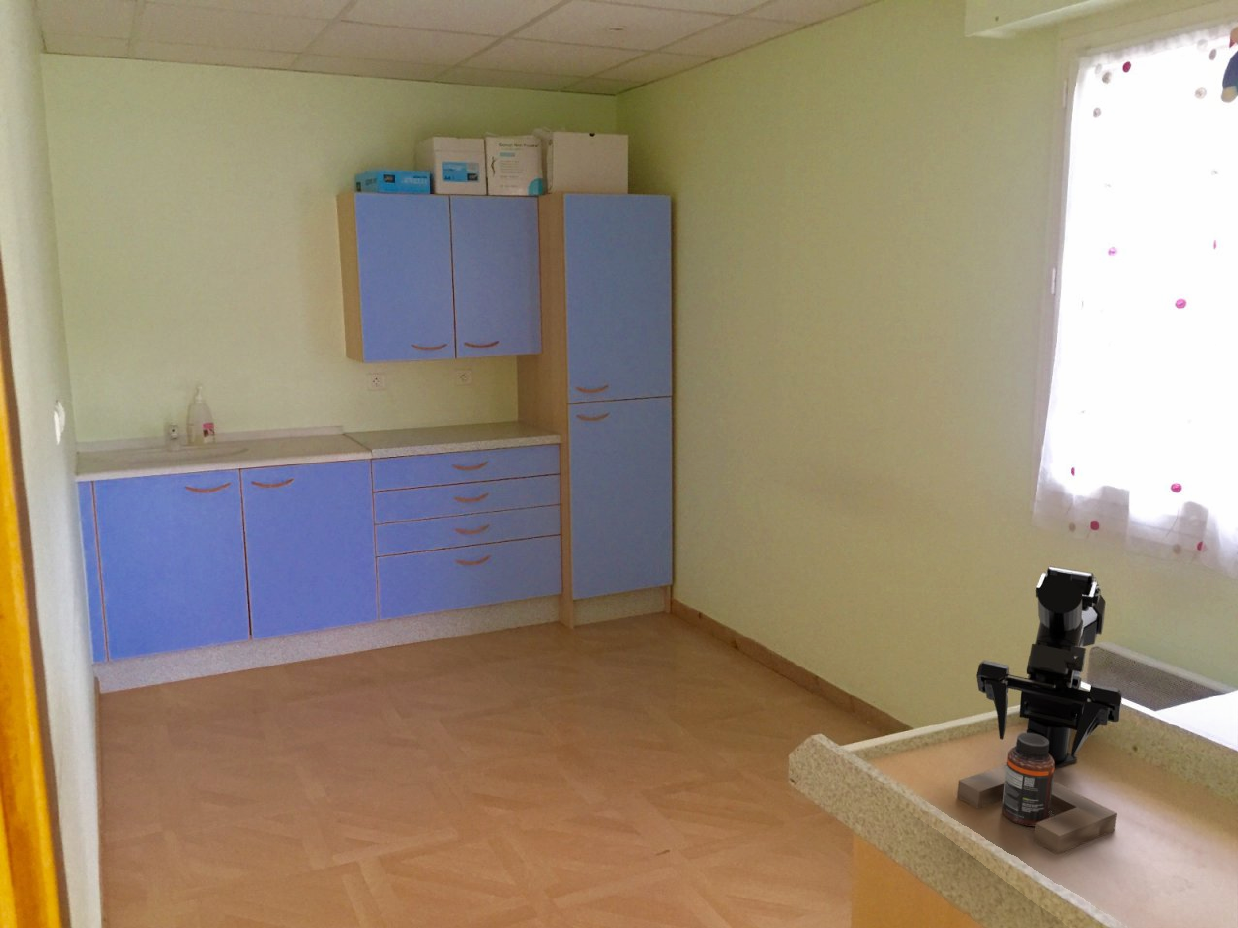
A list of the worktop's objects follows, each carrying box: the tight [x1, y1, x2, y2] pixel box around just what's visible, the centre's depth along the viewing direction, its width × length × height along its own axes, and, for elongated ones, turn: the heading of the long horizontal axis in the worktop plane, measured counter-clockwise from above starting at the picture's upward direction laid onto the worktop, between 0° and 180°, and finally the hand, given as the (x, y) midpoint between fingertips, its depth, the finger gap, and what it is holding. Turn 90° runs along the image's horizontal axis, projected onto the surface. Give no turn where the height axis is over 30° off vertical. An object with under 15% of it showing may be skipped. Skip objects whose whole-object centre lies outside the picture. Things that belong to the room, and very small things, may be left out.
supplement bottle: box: [1001, 732, 1055, 827], centre depth 139 cm, size 6×6×11 cm
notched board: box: [956, 764, 1118, 855], centre depth 141 cm, size 12×16×2 cm
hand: (1036, 746), depth 142 cm, fingers open, 9 cm apart
